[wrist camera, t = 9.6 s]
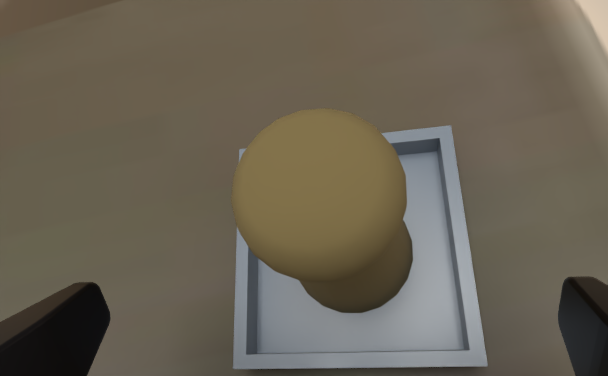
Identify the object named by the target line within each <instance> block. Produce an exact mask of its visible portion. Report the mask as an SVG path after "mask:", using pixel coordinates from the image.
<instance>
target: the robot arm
mask: <svg viewBox="0 0 608 376" xmlns="http://www.w3.org/2000/svg"><path fill="white" fill-rule="evenodd" d="M109 323H110V311H109V309H108V306H107V304H106V301H105V299H104V297H103V294H102V292H101V289H100V287H99V286H98V285H97V284H96V283H93V282H79V283H75V284H72V285H70V286H68V287H67V288H65V289H63V290H61V291H59V292H57V293H55V294H53V295H51V296H49V297H47V298H46V299H44V300H42V301H40V302H38V303H36V304H34V305H32V306H30V307H28V308H26V309H24V310H23V311H21V312H19V313H17V314H15V315H13V316H11V317H9V318H7V319H5V320H3V321H2V322H0V376H87V374H88V372H89V370H90V367H91V365H92V363H93V360H94V358H95V356H96V353H97V351H98V349H99V346H100V344H101V342H102V339H103V337H104V335H105V333H106V330H107V328H108V326H109ZM558 323H559V327H560V330H561V333H562V336H563V339H564V342H565V345H566V348H567V351H568V354H569V357H570V360H571V363H572V366H573V369H574V372H575V375H576V376H608V285H606V284H605V283H603V282H601V281H600V280H598V279H596V278H594V277H568V278H566V279H565V280H564V282H563V286H562V292H561V298H560V305H559V311H558Z"/></svg>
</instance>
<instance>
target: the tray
mask: <svg viewBox="0 0 608 376" xmlns="http://www.w3.org/2000/svg"><path fill="white" fill-rule="evenodd" d="M381 134H382V135H383V136H384V137H385V138H386V139H387V140H388V142H389V143H390V144H391V145H392V146H393V148H394V149H395V150H396V152H397V155H398V157H399V160H400V162H401V164H402V167H403V169H404V172H405V174H406V190H407V207H406V211H405V215H404V218H403V220H404V222H405V224H406V227H407V229H408V232H409V234H410V237H411V239H412V249H413V262H412V266H411V269H410V273H409V276H408V279H407V281H406V282H405V284H404V285H403V287H402V288H401V289H400V291H399V292H398V294H397V295H396V296H395V297H394V298H392V299H391V300H389V301H388V302H387V303H385V304H384V305H383V306H381V307H380V308H376V309H373V310H370V311H367V312H364V313H341V312H338V311H335V310H332V309H330V308H327V307H324V306H322V305H321V304H320V303H319V302H317V301H316V300H315V299H313V298H312V297H311V296H310V295H308V293H307V292H306V290H305V289H304V287H303V286H302V284H301V283H300V281H299V280H297V279H294V278H292V277H289V276H286V275H283V274H280V273H278V272H276V271H274V270H272V269H271V268H270V267H269V266H267V265H266V264H265V263H264V262H262V261H261V260H260V259H259V258H257V257H256V256H255V255H254V254H253V253H252V252H251V250H250V248H249V247H248V245H247V244H246V242H245V240H244V239H243V237H242V236H241V234H240V232H239V230H238V228H237V248H236V283H235V318H234V353H233V369H298V368H382V367H467V366H488V364H487V357H486V351H485V344H484V338H483V331H482V325H481V318H480V312H479V305H478V299H477V292H476V286H475V279H474V273H473V266H472V260H471V253H470V246H469V240H468V233H467V227H466V220H465V214H464V207H463V201H462V194H461V188H460V181H459V175H458V168H457V162H456V155H455V149H454V142H453V136H452V129H451V125H450V126H441V127H432V128H424V129H415V130H406V131H397V132H388V133H381ZM245 150H246V149H239V161H240V159H241V157H242V154H243V152H244V151H245Z"/></svg>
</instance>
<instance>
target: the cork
mask: <svg viewBox="0 0 608 376" xmlns="http://www.w3.org/2000/svg"><path fill="white" fill-rule="evenodd" d="M231 203H232V208H233V212H234V216H235V220H236V225H237V228H238V230H239V232H240V234H241V236H242V237H243V239H244V240H245V242H246V244H247V245H248V247H249V248H250V250H251V252H252V253H253V254H254V255H255V256H256V257H257V258H259V259H260V260H261V261H262V262H264V263H265V264H266V265H267V266H269V267H270V268H271V269H272V270H274V271H276V272H278V273H280V274H283V275H286V276H289V277H292V278H294V279H297V280H299V281H300V283H301V284H302V286H303V287H304V289H305V290H306V292H307V293H308V295H310V296H311V297H312V298H313V299H315V300H316V301H317V302H319V303H320V304H321V305H322V306H324V307H327V308H330V309H332V310H335V311H338V312H341V313H364V312H367V311H370V310H373V309H376V308H380V307H381V306H383V305H384V304H385V303H387V302H388V301H389V300H391V299H392V298H394V297H395V296H396V295H397V294H398V292H399V291H400V289H401V288H402V287H403V285H404V284H405V282H406V281H407V279H408V276H409V273H410V269H411V266H412V262H413V249H412V239H411V237H410V234H409V232H408V229H407V227H406V224H405V222H404V220H403V218H404V215H405V211H406V207H407V190H406V174H405V172H404V169H403V167H402V164H401V162H400V160H399V157H398V155H397V152H396V150H395V149H394V148H393V146H392V145H391V144H390V143H389V142H388V140H387V139H386V138H385V137H384V136H383V135H382V134H381V133H380V131H379V130H378V129H377V128H376V127H375V126H374V125H372V124H370V123H369V122H367V121H365V120H363V119H362V118H360V117H358V116H356V115H355V114H353V113H348V112H344V111H339V110H334V109H330V108H323V109H310V110H301V111H298V112H295V113H292V114H290V115H287V116H284V117H282V118H279V119H277V120H276V121H275V122H273V123H272V124H270V125H269V126H268V127H266V128H265V129H263V130H262V131H261V132H259V134H258V135H257V136H256V137H255V139H254V140H253V141H252V142H251V144H250V145H249V146H248V147H247V149H246V150H245V151H244V152H243V154H242V157H241V159H240V161H239V164H238V166H237V169H236V171H235V174H234V176H233V185H232V196H231Z"/></svg>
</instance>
